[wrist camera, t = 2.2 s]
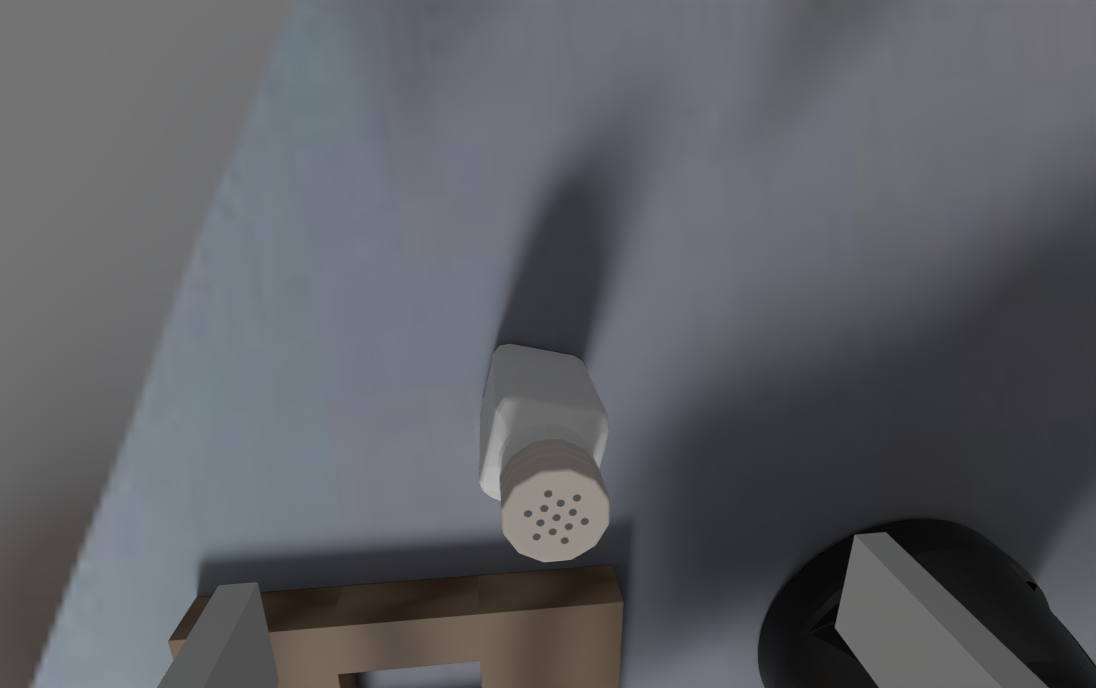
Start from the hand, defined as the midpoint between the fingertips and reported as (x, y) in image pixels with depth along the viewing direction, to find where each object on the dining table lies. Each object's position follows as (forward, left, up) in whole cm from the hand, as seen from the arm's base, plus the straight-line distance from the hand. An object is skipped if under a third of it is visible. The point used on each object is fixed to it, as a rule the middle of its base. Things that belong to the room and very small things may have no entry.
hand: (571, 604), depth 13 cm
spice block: (+6, +16, -13) cm, 22 cm away
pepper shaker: (0, 0, -13) cm, 13 cm away
